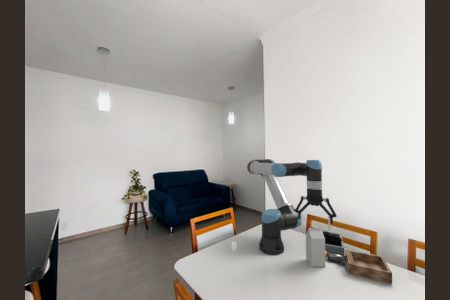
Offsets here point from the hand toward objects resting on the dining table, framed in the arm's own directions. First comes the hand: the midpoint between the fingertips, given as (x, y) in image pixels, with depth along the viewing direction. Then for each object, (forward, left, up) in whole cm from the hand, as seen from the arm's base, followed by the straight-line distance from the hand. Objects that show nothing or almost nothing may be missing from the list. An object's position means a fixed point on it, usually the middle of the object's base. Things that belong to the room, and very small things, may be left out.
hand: (315, 227), depth 101 cm
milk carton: (0, 0, -20) cm, 20 cm away
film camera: (+6, +24, -19) cm, 31 cm away
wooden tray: (+24, +5, -19) cm, 31 cm away
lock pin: (+9, +7, -19) cm, 22 cm away
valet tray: (+7, +24, -19) cm, 32 cm away
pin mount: (+10, +7, -19) cm, 23 cm away
